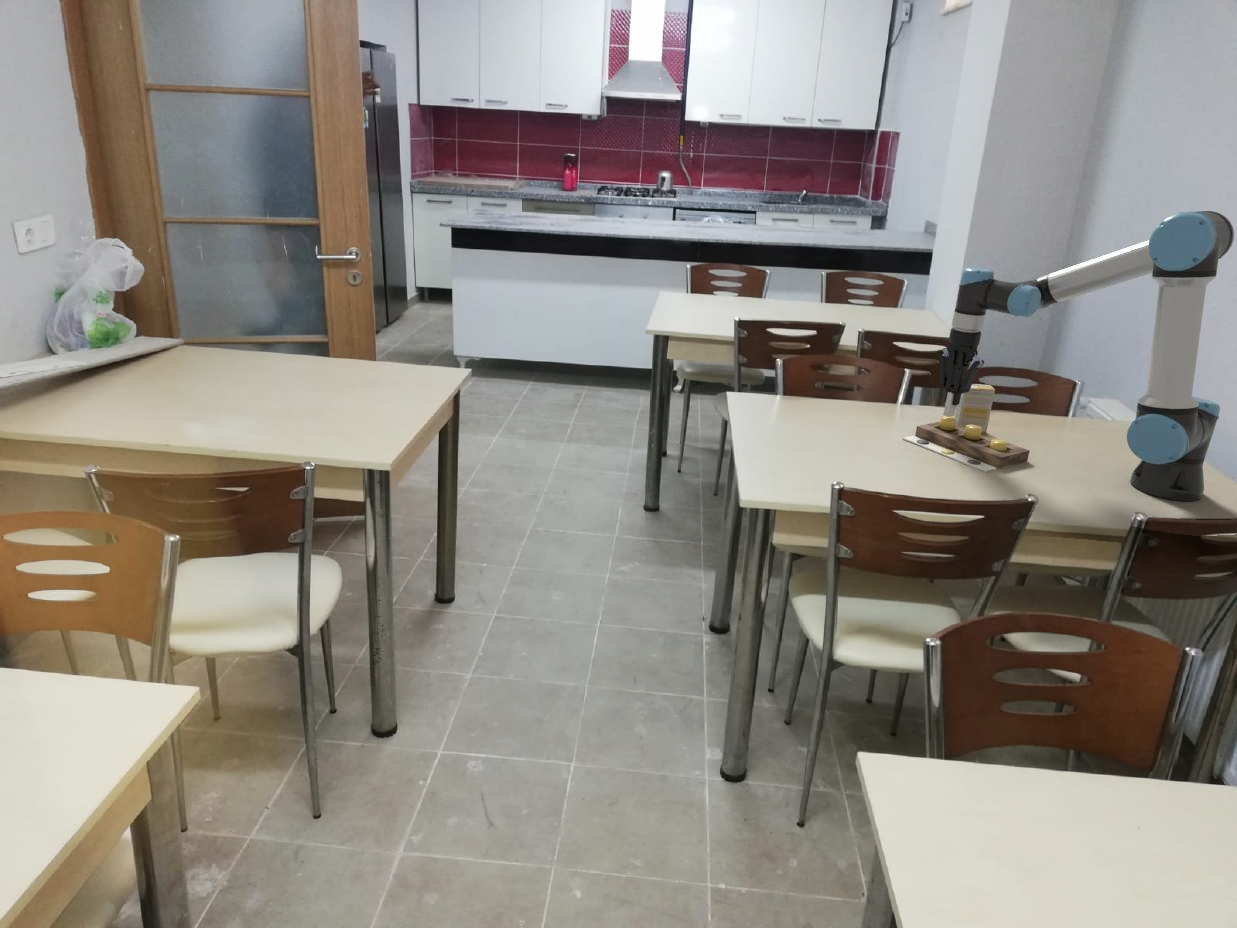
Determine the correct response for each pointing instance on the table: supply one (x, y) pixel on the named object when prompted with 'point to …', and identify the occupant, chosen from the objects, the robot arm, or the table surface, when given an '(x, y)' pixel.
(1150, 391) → the robot arm
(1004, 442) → the button
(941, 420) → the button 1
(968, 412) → the supplement box
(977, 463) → the card
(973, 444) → the board
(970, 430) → the button mid
